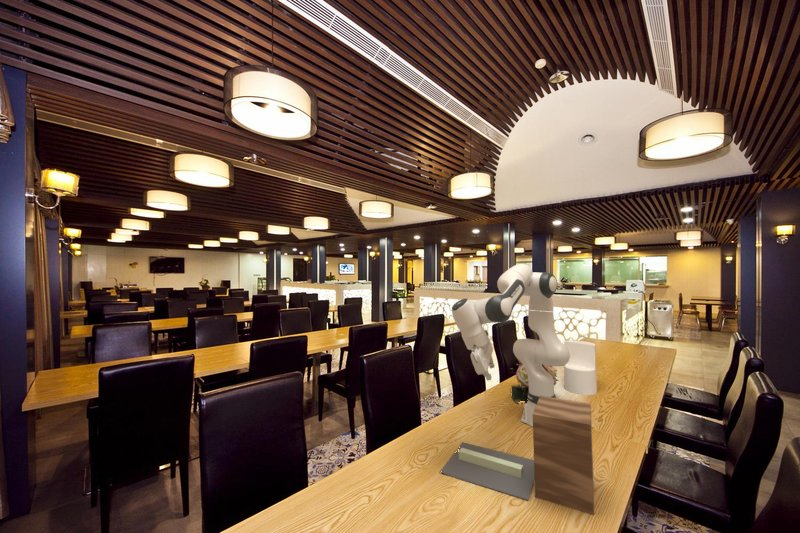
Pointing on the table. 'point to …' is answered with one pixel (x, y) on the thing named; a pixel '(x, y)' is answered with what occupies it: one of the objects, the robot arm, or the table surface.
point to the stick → (491, 462)
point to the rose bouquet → (522, 391)
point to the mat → (492, 472)
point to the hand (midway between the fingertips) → (491, 373)
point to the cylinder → (581, 368)
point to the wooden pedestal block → (563, 453)
